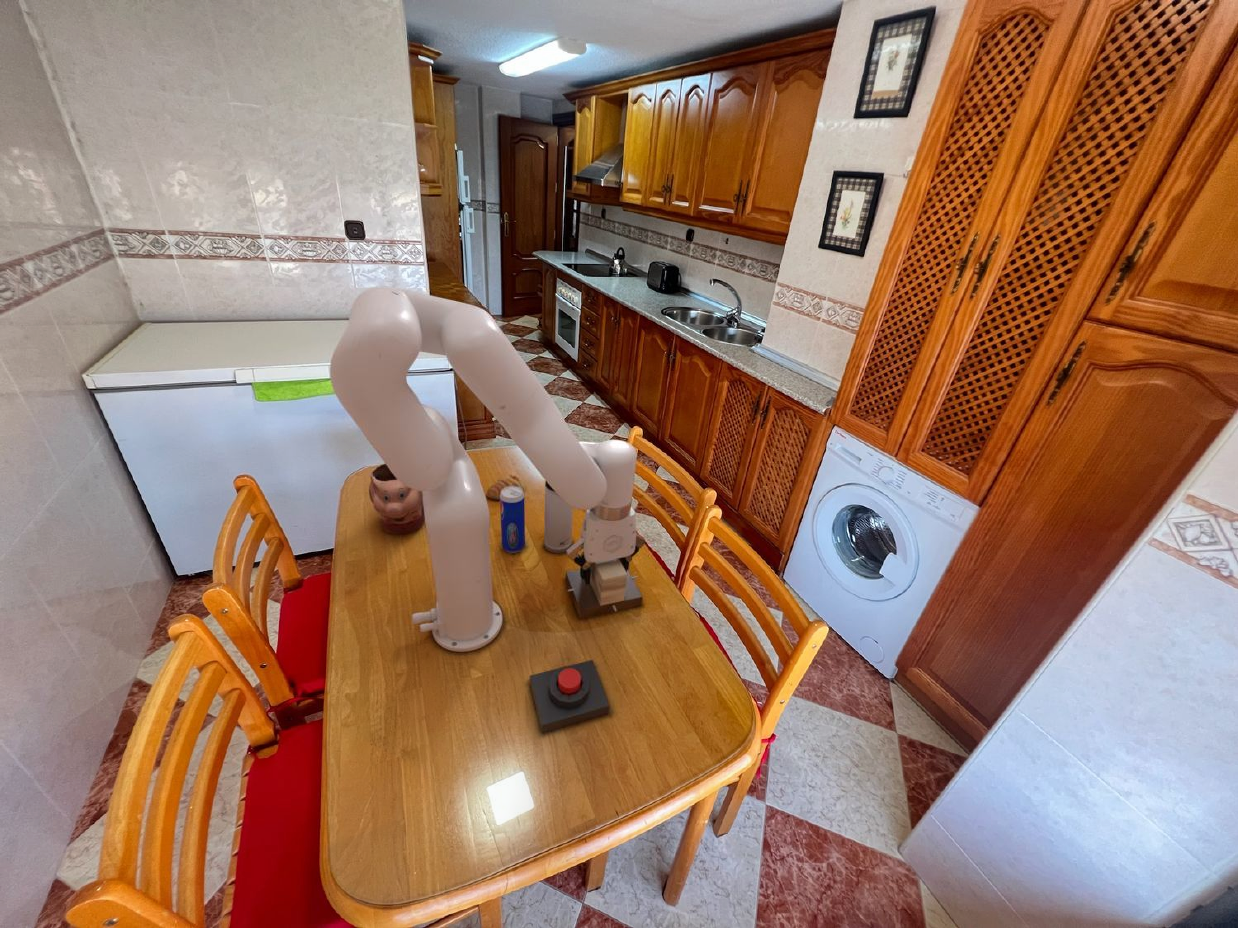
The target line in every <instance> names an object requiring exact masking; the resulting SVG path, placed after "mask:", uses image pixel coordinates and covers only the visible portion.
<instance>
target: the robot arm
mask: <svg viewBox="0 0 1238 928" xmlns="http://www.w3.org/2000/svg"><path fill="white" fill-rule="evenodd" d="M420 352H421V353H428V354H433V355H439V356H445V357H446V359H447V361H448V364H449V365H450V367H451V368H452V369H453V370H454V373H456V375H457V376H458V377H459V378H460V379H461V381H463V382H464V384H465V385H466V386H467V387H468V388H469V390H470V391H471V392H472V393H473V395H475V396H476V398H477V399H478V400H479V401H480V402H481V403H482V404H483V405H484V407H485V408H486V409H487V410H488V411H489V412H490V413H491V415H492V416H493V417H494V418H495V420H496V421H497V422H498V423H499V424H500V425H501V427H502V428H503V429H504V430H505V431H506V432H507V433H508V435H509V438H511V440H512V441H513V442H514V444H515V445H516V446H517V447H518V448H519V449H520V451H521V452H522V453H523V454H524V455H525V456H526V457H527V458H528V460H529V462H530V463H531V464H532V465H533V466H534V468H535V469H536V470H537V472H538V473H539V474H540V475H541V477H542V478H543V479H544V481H545V480H546V481H547V483H548V484H549V485H550V486H551V487H552V488H553V490H554V491H555V492H556V493H557V494H558V495H559V496H560V497H561V499H562V500H563V501H564V502H565V503H566V504H567V505H569V506H570V507H572V508H573V509H574V510H579V511H585V514H584V517H583V521H582V525H581V531H580V539H579V540H577V541H576V542H575V543H574V544H572V545H571V547H570V548H569V549H567V550H566V551H565V554H566V556H567V558H568V559H570V560H571V561H573V563H574V564H576V565H577V566H579V567H580V568H579V569H580V576H581V579H584V580H585V583H586V585H587V584H589V583H590V575H591V569H590V567H589V566H590V565H591V563H592V562H600V561H606V560H611V559H616V558H619V560H620V561H621V563H622V565H623V567H624V569H625V571H626V573H627V570H628V571H629V569H630V562H632V561H633V557H635V556H636V555H637V554H638V553H639V551H640V549H642V547H643V546H644V545H645V544H646V543H647V541H646V538H645V537H644V536H642V535H641V534H639V533H638V532H637V522H636V521H637V519H636V512H635V509H634V507H632V501H633V493H634V486H635V477H636V470H637V469H636V468H637V458H638V453H637V451H636V448H635V447H634V446H633V445H632V444H631V443H629V442H627V441H624V440H620V439H607V440H604V441H601V442H595V441H581V440H578V439H577V437H576V436H575V434H574V433H573V431H572V430H571V429H570V427H569V425H568V423H567V422H566V421H565V418H564V417H563V415H562V413H561V411H560V410H559V407H558V406H557V405H556V402H555V401H554V400H553V399H552V397H551V395H550V394H549V392H548V391H547V390H546V388H545V387H544V386H543V384H541V382H540V381H539V379H538V378H537V376H536V375H535V374H534V373H533V371H532V370H531V368H530V367H529V366H528V364H527V363H526V362H525V360H524V359H523V357H522V356H521V355H520V354H519V352H518V351H517V350H516V348H515V347H514V345H513V344H512V342H511V341H510V340H509V339H508V337H507V336H506V334H505V333H504V332H503V330H502V329H501V328H500V327H499V325H498V323H497V322H496V320H495V319H494V318H493V316H492V315H491V314H490V313H489V312H488V311H487V310H485V309H483V308H481V307H479V306H476V305H473V304H469V303H467V302H461V301H456V300H452V299H449V298H443V297H438V296H435V295H431V294H427V293H421V292H417V291H413V290H409V289H404V288H399V287H395V286H389V285H388V286H387V285H384V286H383V285H380V286H378V285H377V286H373V287H370V288H368V289H366V290H363V291H362V292H361V293H359V294H358V296H357V297H356V298H355V299H354V301H353V304H352V306H351V308H350V314H349V318H348V322H347V326H346V328H345V329H344V332H343V333H342V336H341V337H340V339H339V341H338V343H337V344H336V346H335V348H334V351H333V353H332V356H331V359H330V366H329V379H330V384H331V387H332V389H333V393H334V394H335V396H336V398H337V399H338V401H339V403H340V405H341V406H342V407H343V408H344V410H345V411H346V412H347V414H348V415H349V416H350V418H351V419H352V420H353V421H354V423H355V424H356V426H357V427H358V429H359V430H360V431H361V433H362V434H363V436H364V437H365V438H366V440H367V442H369V444H370V445H371V446H372V448H373V449H374V450H375V452H376V453H377V455H378V456H379V457H380V458H381V459H382V461H383V463H386V465H387V466H388V468H389V469H390V471H391V472H392V473H393V475H394V476H395V477H396V478H397V479H398V480H399V481H400V482H401V483H402V484H404V485H406V486H407V487H409V488H411V489H414V490H418V491H422V495H423V506H424V515H425V521H424V524H425V529H426V530H425V531H426V536H427V541H428V547H429V554H430V555H429V556H430V561H431V566H432V567H431V568H432V574H433V581H434V586H435V587H434V588H435V594H436V595H435V596H436V603H435V606H436V607H434V608H431V609H430V610H429V611H425V612H423V611H421V612H415V613H412V624H413V626H415V625H418V624H419V628H420V629H419V631H420V633H425V632H426V633H427V632H430V631H431V633H432V636H433V639H434V640H435V642H436V643H437V644H438V645H439V646H440V647H441V648H443V649H446V650H448V651H452V652H456V653H457V652H459V653H462V652H463V653H464V652H471V651H475V650H478V649H481V648H483V647H485V646H486V645H488V644H490V643H491V642H492V641H493V640H494V639H495V638H496V637H497V636H498V635H499V633H500V631H501V629H502V626H503V613H502V610H501V607H500V606H499V605H498V604H497V603H496V602H495V601H494V598H493V596H494V595H493V582H492V566H491V551H490V550H491V549H490V529H491V515H490V509H489V504H488V500H487V497H486V494H485V491H484V488H483V485H482V483H481V479H480V476H479V473H478V470H477V467H476V465H475V464H474V462H473V460H472V459H471V457H470V455H469V454H468V452H467V451H466V450H465V447H464V446H463V444H462V443H461V441H460V440H459V438H458V437H457V434H456V433H455V431H454V430H453V429H452V426H451V425H450V424H449V422H448V420H447V419H446V418H445V416H444V415H443V414H442V413H441V412H440V411H438V409H436V408H434V407H432V406H430V405H427V404H424V403H421V401H420V399H419V397H418V396H417V395H416V393H415V391H414V390H413V389H412V388H411V386H410V385H409V384H408V381H407V376H408V373H409V371H410V370H411V367H412V366H413V364H414V363H415V362H416V359H417V358H418V356H419V354H420ZM581 551H582V552H581ZM580 552H581V554H579V553H580ZM426 622H428V623H426Z"/></svg>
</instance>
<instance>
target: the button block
mask: <svg viewBox="0 0 1238 928" xmlns="http://www.w3.org/2000/svg"><path fill="white" fill-rule="evenodd" d="M568 668H572V669H575V670H577V671H578V672H579V673H580V675H581V685H580V689H579V690H578V691H577V692H576V693H574V694H572V695H566V694H564V693H562V692H561V691H560V690H559V688H558V677H559V674H560V673H561V672H562V671H563V670H564V669H568ZM529 686H530V690H531V694H532V699H533V702H534V706H535V711H536V716H537V719H538V723H539V727H540V732H541V734H545V733H549V732H552V731H555V730H559V729H562V728H565V727H568V726H573V725H574V724H578V723H581V722H585V721H589V720H591V719H595V718H599V717H602V716H605V715H609V713H610V708H611V707H610V702H609V700H608V697H607V695H606V692H605V689H604V686H603V684H602V680H601V677H600V675H599V673H598V670H597V667H596V664H595V662H594V660H593V659H589V660H586V661H582V662H577V663H573V664H570V665H566V666H562V667H558V668H555V669H551V670H550V669H549V670H546V671H543V672H539V673H535V674H531V675H530V676H529Z"/></svg>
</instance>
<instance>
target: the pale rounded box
mask: <svg viewBox="0 0 1238 928" xmlns="http://www.w3.org/2000/svg"><path fill="white" fill-rule="evenodd" d="M589 567H590V569H591V575H590V583H591V585H592V588H593V590H594V592H595V595H596V597H597V599H598V601H599V604H600V606H601V605H606V604H610V603H615V602H620V601H624V597H625V589H626V581H627V573H626V571H625V569H624V567H623V565H622V563H621V561H620V560H619V558H616V559H611V560H606V561H600V562H592V563H591V565H590V566H589Z"/></svg>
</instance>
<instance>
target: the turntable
mask: <svg viewBox="0 0 1238 928" xmlns="http://www.w3.org/2000/svg"><path fill="white" fill-rule="evenodd" d="M564 578H565V584H566V586H567V590H566V591H567V592H569V594H570V596H571V600H572V603H573V604H574V607H575V610H576V613H577V615H578V618H579V620H583V619H588V618H592V617H596V616H600V615H605V614H610V613H614V612H619V611H623V610H627V609H633V608H636V607H642V603H643V595H642V593H641V591H640V590H639V587H638V586H637V584H636V581H635V580H634V579H638V578H639V577H638V575H635V576H632V575H631V573H630V571H629V570H627V581H626V589H625V597H624V601H620V602H615V603H610V604H606V605H601V606H600V604H599V601H598V599H597V597H596V595H595V592H594V590H593V588H592V585H591V583H589V584H587V585H586V583H585V580H584V579H581V576H580V568H578V569H572V570H567V571H565V577H564Z"/></svg>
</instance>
